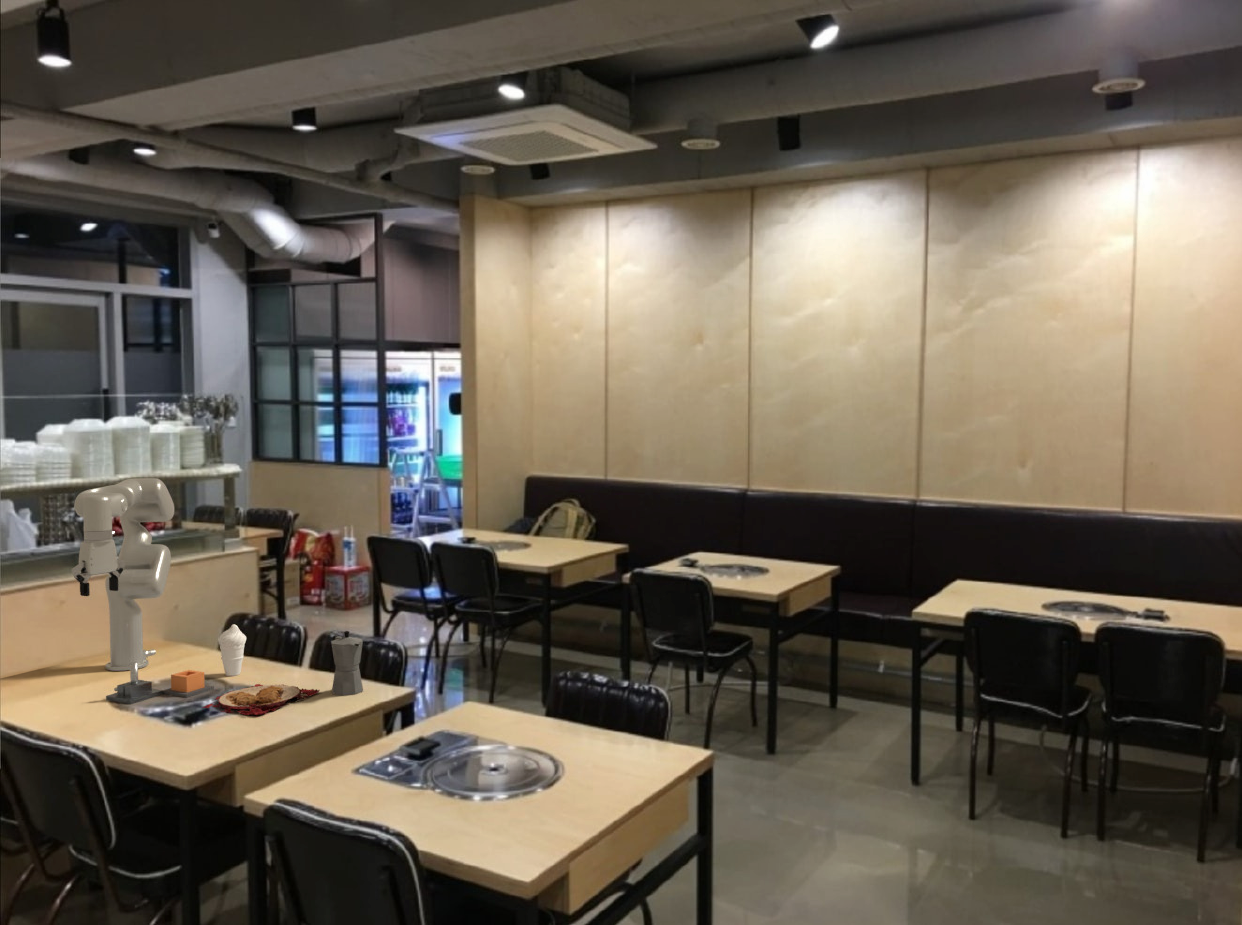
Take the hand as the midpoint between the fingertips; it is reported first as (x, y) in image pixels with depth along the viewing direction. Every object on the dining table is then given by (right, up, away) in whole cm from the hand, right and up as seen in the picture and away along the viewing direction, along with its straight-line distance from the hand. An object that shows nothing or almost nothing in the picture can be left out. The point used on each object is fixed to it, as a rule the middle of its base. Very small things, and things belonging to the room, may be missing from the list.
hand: (99, 593), depth 300 cm
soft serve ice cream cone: (+34, -28, +15) cm, 47 cm away
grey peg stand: (+16, -29, -10) cm, 34 cm away
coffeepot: (+75, -29, -4) cm, 80 cm away
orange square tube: (+28, -28, -4) cm, 40 cm away
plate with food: (+52, -30, -14) cm, 62 cm away
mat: (+28, -29, -4) cm, 40 cm away
